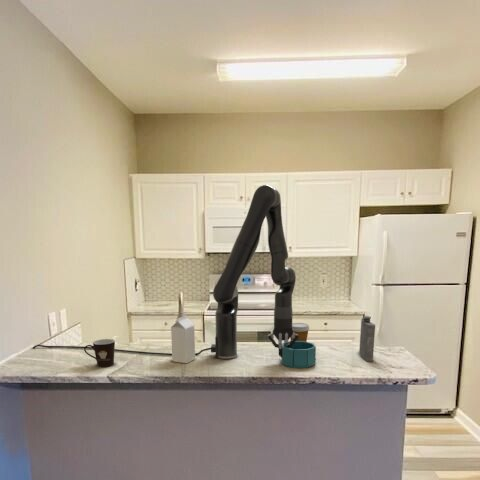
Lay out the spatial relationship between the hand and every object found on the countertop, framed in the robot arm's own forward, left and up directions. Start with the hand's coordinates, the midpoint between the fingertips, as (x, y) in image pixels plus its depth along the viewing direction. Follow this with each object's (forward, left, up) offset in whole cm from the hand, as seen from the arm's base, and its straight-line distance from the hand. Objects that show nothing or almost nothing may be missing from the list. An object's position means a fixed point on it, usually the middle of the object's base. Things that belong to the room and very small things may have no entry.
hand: (282, 356), depth 169 cm
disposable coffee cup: (+9, +19, -3) cm, 21 cm away
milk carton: (-42, +3, -3) cm, 42 cm away
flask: (+37, +9, -3) cm, 38 cm away
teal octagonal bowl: (+6, 0, -3) cm, 7 cm away
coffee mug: (-75, -3, -3) cm, 75 cm away
